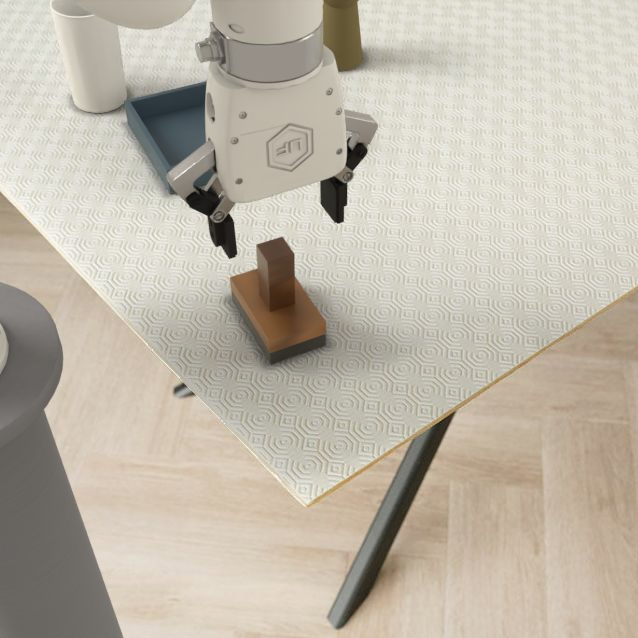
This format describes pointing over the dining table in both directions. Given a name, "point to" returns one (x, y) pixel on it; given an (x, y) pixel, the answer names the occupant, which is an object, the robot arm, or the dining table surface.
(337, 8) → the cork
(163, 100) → the tray
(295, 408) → the dining table surface
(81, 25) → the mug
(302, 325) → the brush
